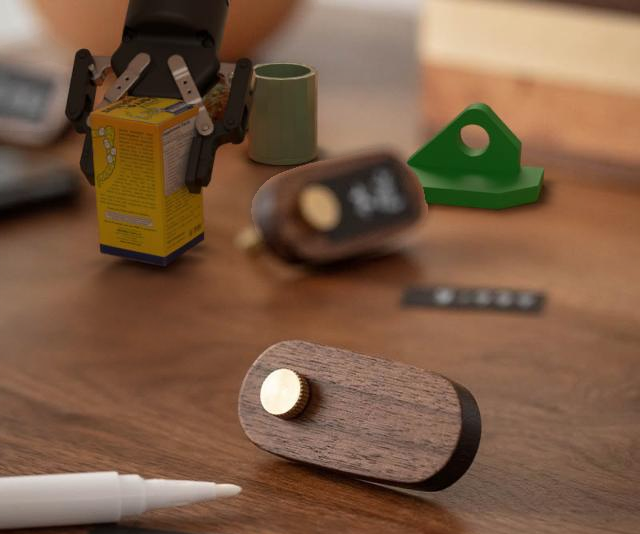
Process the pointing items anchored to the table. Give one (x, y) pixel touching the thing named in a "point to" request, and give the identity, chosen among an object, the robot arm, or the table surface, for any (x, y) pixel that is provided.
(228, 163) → the table surface
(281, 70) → the cup
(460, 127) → the bracket
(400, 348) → the table surface
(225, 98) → the seashell
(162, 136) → the supplement box
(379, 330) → the table surface
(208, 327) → the table surface
